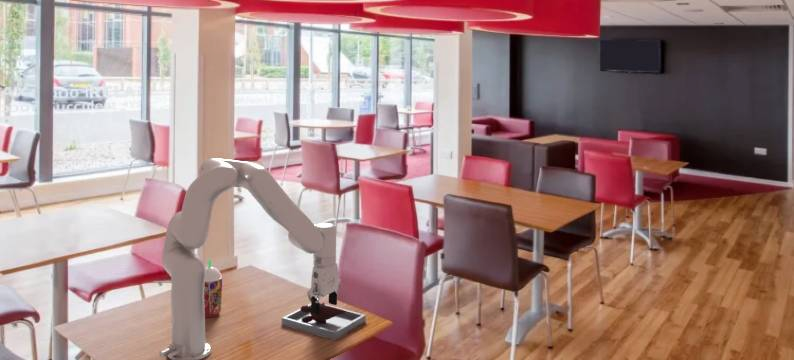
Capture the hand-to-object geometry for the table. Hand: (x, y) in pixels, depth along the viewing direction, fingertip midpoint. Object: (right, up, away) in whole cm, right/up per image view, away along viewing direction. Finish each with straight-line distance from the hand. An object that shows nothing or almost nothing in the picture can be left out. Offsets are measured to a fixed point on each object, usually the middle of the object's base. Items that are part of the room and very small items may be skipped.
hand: (324, 308), depth 222 cm
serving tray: (0, -5, +1) cm, 5 cm away
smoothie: (-40, -3, +6) cm, 41 cm away
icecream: (-1, -5, +1) cm, 5 cm away
